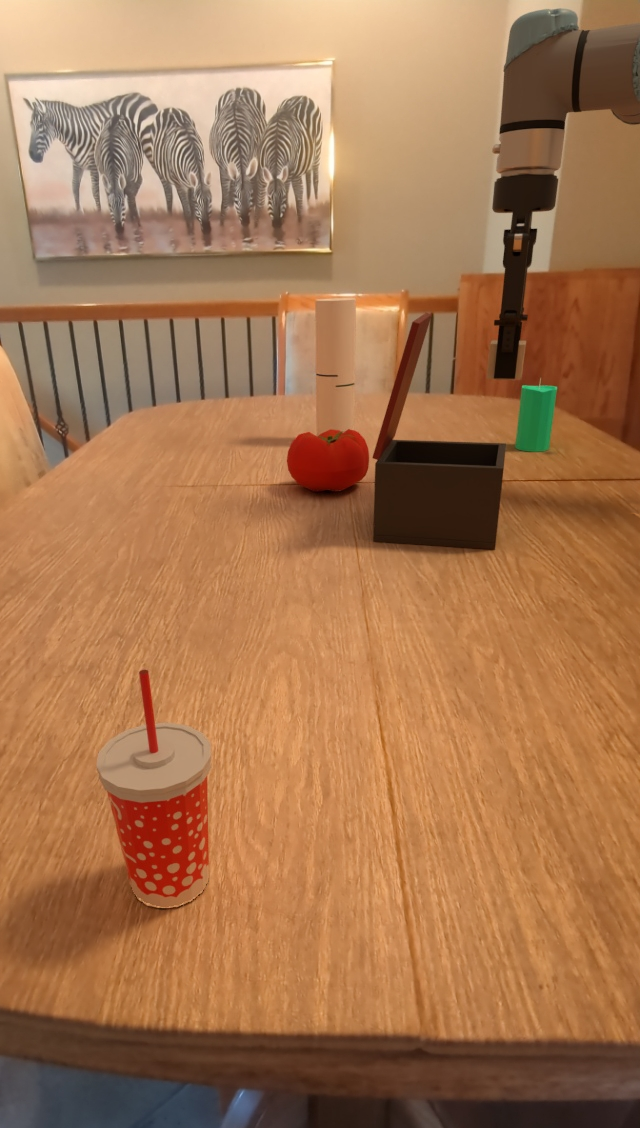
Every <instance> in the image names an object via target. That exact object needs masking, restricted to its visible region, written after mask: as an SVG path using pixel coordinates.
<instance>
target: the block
mask: <svg viewBox="0 0 640 1128" xmlns="http://www.w3.org/2000/svg"><path fill="white" fill-rule="evenodd" d="M497 342H498V339H492V340H491V342H490V343H489V349H488V356H487V357H488V358H487V369H486V378H485V379H486V380H491V381H492V380H495V381H522V379H523V378H522V377H523V373H524V372H523V371H524V363H525V355H526V354H525V353H526V347H527V340H520V341H519V347H518V356H517V365H516V374H515V379H502V378H494V371H495V362H496V352H497Z"/></svg>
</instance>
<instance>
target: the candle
mask: <svg viewBox="0 0 640 1128" xmlns="http://www.w3.org/2000/svg"><path fill="white" fill-rule="evenodd" d="M541 382H542V377H540V378H539V384H538V385H526V384H525V385H524V384H523V385H521V391H520V399H519V400H520V401H519V410H518V418H517V427H516V428H517V429H516V436H515V444H514V449H517V450H518V451H523V452H532V453H533V452H535V453H537V452H538V453H539V452H546V451H549V450H550V446H551V445H550V444H551V438H552V430H553V421H554V416H555V415H554V414H555V408H556V400H557V392H558V386H554V385H541Z"/></svg>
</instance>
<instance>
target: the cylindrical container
mask: <svg viewBox="0 0 640 1128" xmlns="http://www.w3.org/2000/svg"><path fill="white" fill-rule="evenodd" d="M314 301H315V303H314V304H315V305H314V306H315V307H314V308H315V309H314V310H315V391H316V392H315V405H316V406H315V410H316V411H315V413H316V416H315V417H316V422H315V423H316V425H315V426H316V436H319V435H320V434H321V433H323V432H326V431H328V430H330V429H332V430H340V431H341V432H342V431H343V432H342V433H344V432H345V431H346V430H348V429H350V430H354V431H355V406H356V405H355V404H356V403H355V402H356V401H355V398H356V397H355V393H356V389H355V388H356V326H357V325H356V320H357V319H356V318H357V317H356V316H357V315H356V314H357V299H356V298H354V297H337V298H335V297H332V298H319V299H314Z"/></svg>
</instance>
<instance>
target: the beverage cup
mask: <svg viewBox="0 0 640 1128" xmlns="http://www.w3.org/2000/svg"><path fill="white" fill-rule="evenodd" d="M138 675H139V683H140V690H141V696H142V697H141V699H142V706H143V713H144V714H143V715H144V719H145V724H141V725H139V726H136V727H131V728H128V729H125V730H124V731H121V732H120V733H118V734H117V735H115V736H113V737H112V738H110V739H108V741H107V742H106V743H105V744H104V746H102V748H101V749H100V750H99V751H98V753H97V759H96V764H95V767H96V771H97V774H98V779H99V781H100V783H101V785H102V787H103V789H104V790H105V791H106V794H107V798H108V801H109V805H110V809H111V813H112V817H113V821H114V825H115V829H116V834H117V838H118V841H119V845H120V849H121V853H122V858H123V860H124V865H125V869H126V873H127V877H128V881H129V885H131V886H130V888H131V887H132V889H133V891H134V893H135V895H137V897H139V898H141V899H143V901H144V902H146V903H150V904H152V905H156V906H161V907H169V906H174V905H179V904H182V903H183V902H185V901H188V900H191V899H192V898H193V897H195V896H196V895H197V894H198V893H200V891H202V890H203V888H204V886H205V884H206V882H207V880H208V878H209V879H210V856H209V853H210V851H209V802H208V801H209V800H208V799H209V797H208V795H209V794H208V774H209V773H210V771H211V770H212V744H211V741H210V740H209V739H208V738H207V737H206V735H205V734H204V733H203V732H202V731H200V730H198V729H196V728H193V727H192V726H190V725H187V724H182V723H176V722H175V723H174V722H168V721H167V722H156V719H155V712H154V705H153V696H152V688H151V680H150V673H149V670H148V669H141V670H139V671H138ZM132 889H131V890H132ZM133 891H132V892H133ZM134 893H133V894H134ZM135 895H134V896H135Z"/></svg>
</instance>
